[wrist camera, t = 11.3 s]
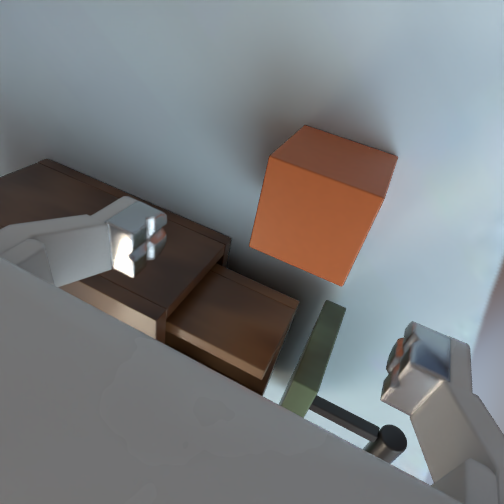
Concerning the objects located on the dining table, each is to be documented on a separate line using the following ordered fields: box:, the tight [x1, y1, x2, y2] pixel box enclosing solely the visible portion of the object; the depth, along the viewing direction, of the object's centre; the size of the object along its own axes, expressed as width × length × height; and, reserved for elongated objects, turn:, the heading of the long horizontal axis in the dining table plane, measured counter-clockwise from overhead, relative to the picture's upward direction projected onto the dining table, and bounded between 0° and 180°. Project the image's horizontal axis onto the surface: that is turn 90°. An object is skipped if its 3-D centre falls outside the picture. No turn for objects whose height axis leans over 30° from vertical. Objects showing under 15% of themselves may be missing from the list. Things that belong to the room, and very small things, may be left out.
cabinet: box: [0, 159, 231, 344], centre depth 25 cm, size 15×13×8 cm
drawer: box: [165, 264, 407, 464], centre depth 23 cm, size 18×11×6 cm, turn 78°
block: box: [249, 125, 398, 286], centre depth 16 cm, size 4×4×4 cm
